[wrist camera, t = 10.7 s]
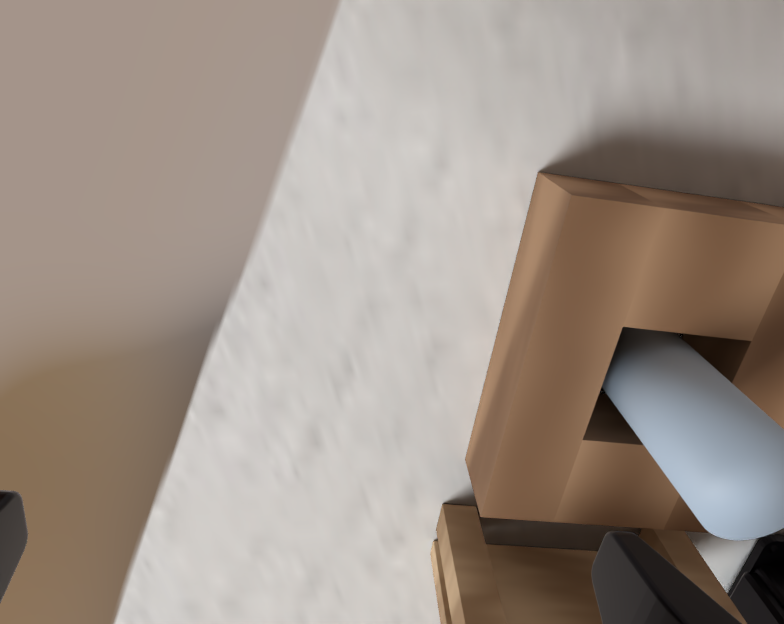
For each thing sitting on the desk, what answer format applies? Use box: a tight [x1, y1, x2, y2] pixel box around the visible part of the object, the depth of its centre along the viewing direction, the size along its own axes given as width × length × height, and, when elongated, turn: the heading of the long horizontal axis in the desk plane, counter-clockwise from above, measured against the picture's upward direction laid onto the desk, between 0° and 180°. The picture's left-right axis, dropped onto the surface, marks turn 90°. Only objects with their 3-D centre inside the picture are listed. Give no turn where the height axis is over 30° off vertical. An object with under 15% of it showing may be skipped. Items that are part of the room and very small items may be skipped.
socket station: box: [430, 172, 784, 624], centre depth 18 cm, size 11×18×10 cm, turn 172°
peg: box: [602, 327, 784, 540], centre depth 18 cm, size 3×3×8 cm
